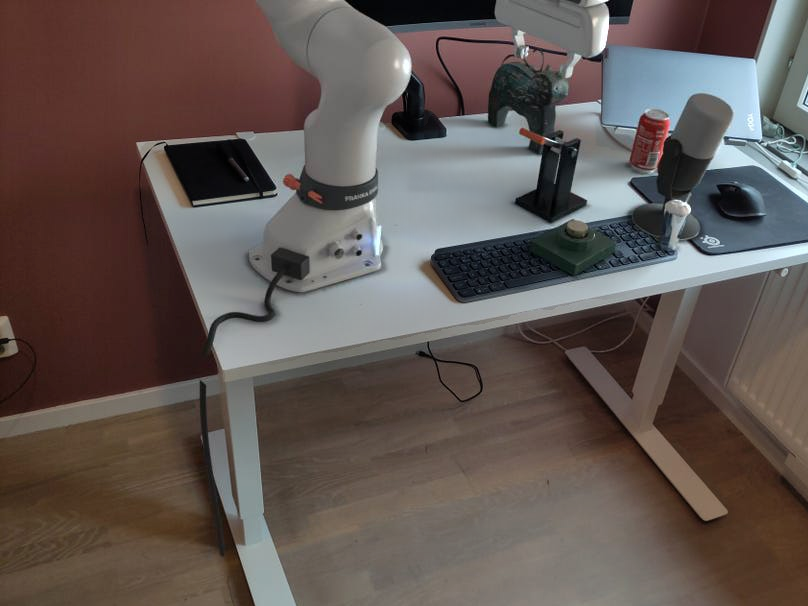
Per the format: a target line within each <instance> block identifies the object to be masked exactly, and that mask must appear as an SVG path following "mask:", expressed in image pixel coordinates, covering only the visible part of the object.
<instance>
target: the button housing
mask: <svg viewBox="0 0 808 606" xmlns="http://www.w3.org/2000/svg"><path fill="white" fill-rule="evenodd" d="M572 220H575V219H574V218H572V219H570V220H568V221H566V222H564V223H562V224H560V225H557V226H556V227H554V228H552V229H550V230H548V231H546V232H544V233H542V234H540V235H538V236H537V237H535V238H532V239H531V240H530V244H529V250H528V251H529V252H530V253H532V254H533V255H536V256H538V257H539V258H542V260H545V261H546V262H549V263H550V264H551V265H554V267H557V268H558V269H560V270H562V271H564V272H566V273H567V274H569V275H571V276H573V277H575V276H577V275H578V274H580V273H582V272H584V271H585V270H587V269H588V268H590V267H592V266H594V265H595V264H597V263H599V262H601V261H603V260H604V259H606V258H607V257H609V256H611V255H613V254H614V253H615V251H616V247H617V241H616V240H614V239H612V238H609V237H608V236H606V235H604V234H602V233H600V232H599V231H597V230H595V229H593V228H591V227H589V226H588V229H587V234H586V237H585V238H584V239H576V238H571V237H570V236H568V235H566V228H567V223H568V222H569V221H572Z"/></svg>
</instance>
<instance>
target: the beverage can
mask: <svg viewBox="0 0 808 606" xmlns="http://www.w3.org/2000/svg"><path fill="white" fill-rule="evenodd" d="M669 117H670V114H669V113H668V112H667V111H664V110H662V109H658V108H648V109H645V110H644V113H642V115H640V117H639V120H638V123H637V126H636V127H637V129H636V131H635V136H634V140H633V144H632V148H631V153H630V157H629V163H630V165H631V167H632V168H633V170H635V171H636V172H639V173H645V174H650V173H653V172H654V171H657V166H658V162H659V160H660V158H661V156H662V154H663V146H664V141H665V140H666V138H667V137H668V135H669V131H670V127H671V121H670V118H669Z"/></svg>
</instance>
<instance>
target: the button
mask: <svg viewBox="0 0 808 606" xmlns="http://www.w3.org/2000/svg"><path fill="white" fill-rule="evenodd" d="M571 220H572V219H571ZM568 221H569V222H568ZM568 221H567V222H568V223H567V228H566V235H568V236H570V237H571V238H576V239H584V238H585V237H586V234H587V229H588V227H589V226H588V224H587V223H586V222H584V221H582V220H576V219H574V220H572V221H570V220H568Z"/></svg>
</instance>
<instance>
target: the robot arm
mask: <svg viewBox="0 0 808 606" xmlns="http://www.w3.org/2000/svg"><path fill="white" fill-rule="evenodd" d="M608 1H609V0H496V1H495V6H494V17H495V20H496V22H498V23H499V24H501V25H503V26H507V27H509V28H510V36H511V39H512V43H513V45H514V52H513V54H514V56H515V57H514V58H518V59H521V60H523V58H524V59H526V58H527V57H528V55H529V53H528V51H529V46H528V45H526V44H525V38H524V34H527V35H529V36H531V37H534V38H536V39H539V40H541V41H544V42H546V43H548V44H551V45H554V46H556V47H558V48H561V49H563V50H566V51H567V52H566V57H567V58H568V60H567V61H566V62H565V63H561V64H559V67H558V72H559V73H558V74H559V75H560V76H562V77H564V78H566V79H569V78H571V77H572V75H573V71H574V66H576V64H578V62H579V61H580V59H582V58H586V59H590V58H594V57H596V56H598V55H600V54H601V53H602V52H603V51H604V49H605V47H606V44H607V38H608V31H609V22H610V12H609V7H608V6H607V4H606V2H608ZM254 2H255V3H256V4H257V6H258V7H259V9H260V10H261V11H262V13H263V14H264V16H265V17H266V20H267V21H268V23H269V25H270V27H271V29H272V31H273V35H274V38H275V40H276V42H277V44H278V46H280V48H281V49H282V50H283V52H284V53H285V54H286V55H287V56H288V57H289V59H290V60H291V61H292V62H293V63H294V64H295V65H297V66H298V67H300V68H301V69H302V70H304V71H305V72H307V73H308V74H309V75H311V76H313V77H315V78H316V79H317V80H318V82H319V86H320V99H319V103H318V106H317V108H316V109H314V110H313V111H311V112H310V113H309V114H308V115H307V116H306V118H305V120H304V123H303V143H304V144H303V146H304V147H303V149H304V150H303V151H304V165H303V167H302V169H301V173H300V175H299V177H295V176H294V175H293V174H291V173H287V174H285V175H284V177H283V179H282V183H283V185H284V186H285V187H287V188H289V189H290V190H291V191H295V193H294V194H293V195H292V196H291V197H290V198H289V199H288V200H287V201H286V202H285V203H284V205H283V206H281V208H280V209H279V210H277V212H276V213H275V214H274V215H273V216H272V217H271V218H270V220H268V221H267V223H266V224H265V227H264V230H263V236H262V242H261V243H259V244H257V245H256V246H254V247H253V248H251V249H249V251H248V260H249V263H250V265H251V266H252V268H253V269H254V270H255V272H257V273H258V274H259V275H260V276H262V277H263V278H264V279H266V280H267V281H268V282H270V283H269V285H268V287H267V289H266V292H265V295H264V302H263V303H264V308H265V309H266V311H267V314H266V315H255V314H250V313H246V312H241V311H230V312H226V313H223V314H222V315H220V316H218V317H216V318H215V319H214V320H213V321H212V323H211V325H210V327H209V330H208V334H207V338H206V342H205V345H204V348H203V351H202V355H203V356H206V357H207V356H208V355H210V353H211V351H212V348H213V345H214V341H215V337H216V332H217V329H218V327H219V326H220V324H222V323H224V322H225V321H228V320H230V319H242V320H246V321H250V322H255V323H267V322H269V321H271V320H273V319H274V318H275V316H276V310H275V309H274V308H273V306H272V303H271V299H272V295H273V292H274V291H275V288H276V286H277V287H279V288H281V289H284V290H287V291H290V292H295V293H300V294H301V293H306V292H309V291H314V290H316V289H321V288H323V287H326V286H331V285H333V284H336V283H340V282H343V281H347V280H350V279H353V278H357V277H360V276H361V277H362V276H363V275H367V274H371V273H373V272H377V271H379V270H380V269H382V261H381V256H382V253H383V251H384V243H383V240H382V237H381V231H382V225H379V222H378V221H379V220H378V213H377V212H378V211H377V200H376V199H377V195H378V193H379V170H378V168H377V149H378V148H377V147H378V133H379V127H380V123H381V119H382V117H383V114H384V111H385V110H386V108H387V106H389V105H392V104H393V103H395V102H396V100H398V99H399V98H400V97H401V96H402V95H403V93H404V92H405V91H406V89H407V87H408V85H409V83H410V81H411V76H412V69H413V68H412V67H413V66H412V65H413V64H412V58H411V55H410V52H409V50H408V48H407V47H406V46H405V45H404V43H403V42H402V41H401V40H400V39H399V38H398V37H397V36H396V35H395V34H394V33H393V32H392V31H391V30H390V29H389V28H388V27H387V26H385V25H384V24H382V23H380V22H378V21H377V20H374V19H372V18H371V17H369V16H367V15H365V14H364V13H362V12H360V11H359V10H358V9H356V8H354V7H353V6H352V5H350V4H349V3H348V2H347V1H346V0H254ZM207 415H208V414H207V384H206V383H205V382H203V381H202V380H201V379H199V418H200V420H199V421H200V429H201V430H200V433H201V440H202V448H203V455H204V462H205V469H206V475H207V482H208V487H209V493H210V499H211V505H212V511H213V517H214V523H215V529H216V535H217V541H218V550H219V555H220V556H221V557H225V556H226V547H225V537H224V531H223V525H222V519H221V513H220V512H221V511H220V506H219V500H218V493H217V488H216V482H215V477H214V476H215V475H214V470H213V463H212V457H211V456H212V455H211V448H210V439H209V430H208V416H207Z"/></svg>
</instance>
